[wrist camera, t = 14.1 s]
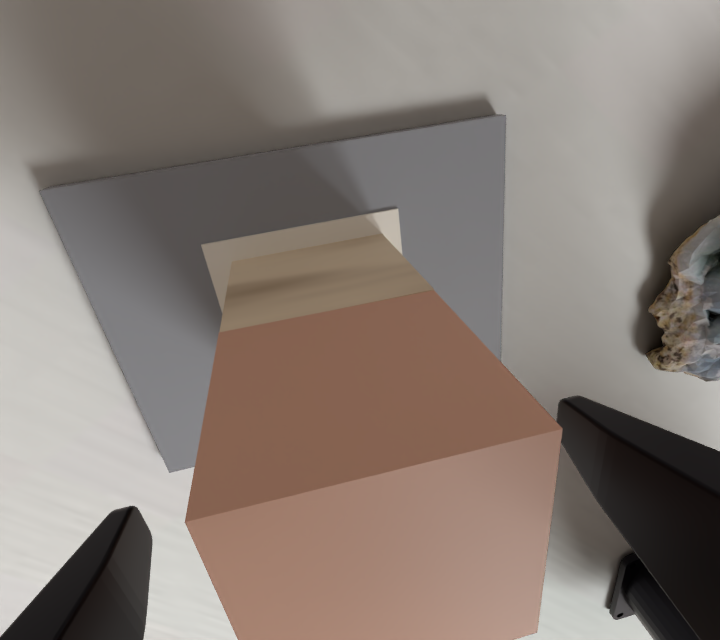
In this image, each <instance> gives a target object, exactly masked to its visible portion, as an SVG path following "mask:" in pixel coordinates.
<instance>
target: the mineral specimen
mask: <svg viewBox="0 0 720 640" xmlns="http://www.w3.org/2000/svg"><path fill="white" fill-rule="evenodd" d="M667 263H668V264H669V265H671V276H672V278H671V279H670V281H669V282H668V284H667V286H666V288H665V289H664V290H663V291H662V292H661V293H660V294H659V295H658V296H657V297H656V299H655V301H654V303H653V304H652V305H651V306H650V307H649V309H648V312H649V313H652V314H653V316H654V317H655V318H656V322H657V325H658V327H660V328H662V329H663V331H664V335H663V336H662V342H663V346H662V347H660V348H657V349H652V350H651V351H650V352H648V353H646V356H647V358H648V360H649V361H650V362H651V364H652V365H653V367H654V368H655V369H658V370H662V371H670V372H681V371H683V372H684V373H685V374H689V375H692V376H696V377H698V378H700V379H702V380H704V381H718V380H720V215H719V216H717V217H716V218H714V219H712V220H709V222H708V223H706V224H704V225H702V226H700V227H699V228H698V229H697V230H696V232H695V233H694V234H693V235H691V236H690V237H688V238H687V239H686V240H685V241H684V242H683V243H682V244H681V245H680V246H679V247H678V248H677V249H676V250H675V251H674V253H673V254H672V256H671V257H670V259H669V261H668V262H667Z"/></svg>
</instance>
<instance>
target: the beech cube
mask: <svg viewBox="0 0 720 640" xmlns="http://www.w3.org/2000/svg"><path fill="white" fill-rule="evenodd" d="M433 290H434V289H433V287H432V286H431V285H430V284H429V283H428V282H427V281H426V280H425V279H424V278H423V277H422V276H421V275H420V274H419V272H418V271H417V270H416V269H415V268H414V267H413V266H412V265H411V264H410V263H409V262H408V261H407V260H406V259H405V257H404V256H403V255H402V254H401V253H400V252H399V251H398V250H397V249H396V248H395V247H394V246H393V245H392V244H391V242H390V241H389V240H388V239H387V238H386V237H385V236H384V235H383V234H377V235H371V236H366V237H361V238H355V239H350V240H345V241H339V242H334V243H329V244H323V245H318V246H312V247H307V248H302V249H296V250H291V251H286V252H280V253H275V254H270V255H264V256H259V257H254V258H248V259H243V260H238V261H232V263H231V269H230V275H229V280H228V286H227V292H226V297H225V303H224V309H223V314H222V320H221V325H220V331H219V332H224V331H229V330H234V329H239V328H244V327H249V326H254V325H260V324H265V323H270V322H275V321H280V320H285V319H290V318H295V317H300V316H305V315H310V314H316V313H321V312H326V311H331V310H336V309H341V308H346V307H351V306H356V305H361V304H367V303H372V302H377V301H382V300H387V299H392V298H397V297H402V296H407V295H412V294H417V293H423V292H428V291H433Z"/></svg>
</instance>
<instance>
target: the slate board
mask: <svg viewBox="0 0 720 640" xmlns="http://www.w3.org/2000/svg"><path fill="white" fill-rule="evenodd" d="M505 139H506V115H498V114H497V115H491V116H485V117H478V118H472V119H466V120H460V121H454V122H448V123H441V124H435V125H429V126H423V127H417V128H411V129H404V130H398V131H392V132H386V133H380V134H374V135H367V136H361V137H355V138H349V139H343V140H337V141H331V142H324V143H318V144H312V145H306V146H300V147H294V148H287V149H281V150H275V151H269V152H263V153H257V154H250V155H244V156H238V157H232V158H226V159H220V160H214V161H207V162H201V163H195V164H189V165H183V166H177V167H170V168H164V169H158V170H152V171H146V172H140V173H133V174H127V175H121V176H115V177H109V178H103V179H96V180H90V181H84V182H78V183H72V184H66V185H60V186H53V187H48V188H45V189H43V190H40V191H39V192H40V194H41V197H42V199H43V201H44V203H45V205H46V207H47V210H48V212H49V214H50V216H51V218H52V220H53V223H54V225H55V227H56V229H57V231H58V233H59V236H60V238H61V240H62V242H63V244H64V246H65V248H66V251H67V253H68V255H69V257H70V259H71V261H72V264H73V266H74V268H75V270H76V272H77V274H78V277H79V279H80V281H81V283H82V285H83V287H84V289H85V292H86V294H87V296H88V298H89V300H90V302H91V305H92V307H93V309H94V311H95V313H96V315H97V318H98V320H99V322H100V324H101V326H102V328H103V331H104V333H105V335H106V337H107V339H108V341H109V343H110V346H111V348H112V350H113V352H114V354H115V356H116V359H117V361H118V363H119V365H120V367H121V369H122V372H123V374H124V376H125V378H126V380H127V382H128V384H129V387H130V389H131V391H132V393H133V395H134V397H135V400H136V402H137V404H138V406H139V408H140V410H141V413H142V415H143V417H144V419H145V421H146V423H147V426H148V428H149V430H150V432H151V434H152V436H153V438H154V441H155V443H156V445H157V447H158V449H159V451H160V454H161V456H162V458H163V460H164V462H165V464H166V467H167V469H168V471H169V473H171V472H175V471H179V470H183V469H187V468H191V467H195V463H196V457H197V452H198V446H199V441H200V435H201V429H202V424H203V418H204V413H205V407H206V401H207V396H208V390H209V385H210V379H211V373H212V368H213V362H214V357H215V351H216V345H217V340H218V334H219V331H220V325H221V320H222V314H223V309H224V303H225V297H226V292H227V286H228V280H229V275H230V269H231V263H232V261H238V260H243V259H248V258H254V257H259V256H264V255H270V254H275V253H280V252H286V251H291V250H296V249H302V248H307V247H312V246H318V245H323V244H329V243H334V242H339V241H345V240H350V239H355V238H361V237H366V236H371V235H377V234H383V235H384V236H385V237H386V238H387V239H388V240H389V241H390V242H391V244H392V245H393V246H394V247H395V248H396V249H397V250H398V251H399V252H400V253H401V254H402V255H403V256H404V257H405V259H406V260H407V261H408V262H409V263H410V264H411V265H412V266H413V267H414V268H415V269H416V270H417V271H418V272H419V274H420V275H421V276H422V277H423V278H424V279H425V280H426V281H427V282H428V283H429V284H430V285H431V286H432V287H433V289H434V291H435V292H436V293H437V294H438V295H439V296H440V297H441V298H442V299H443V300H444V301H445V303H446V304H447V305H448V306H449V307H450V308H451V309H452V310H453V311H454V312H455V313H456V314H457V315H458V317H459V318H460V319H461V320H462V321H463V322H464V323H465V324H466V325H467V326H468V327H469V328H470V329H471V331H472V332H473V333H474V334H475V335H476V336H477V337H478V338H479V339H480V340H481V341H482V342H483V343H484V345H485V346H486V347H487V348H488V349H489V350H490V351H491V352H492V353H493V354H494V355H495V356H496V357H497V359H498V360H499V361H500V362H501V324H502V278H503V231H504V185H505Z"/></svg>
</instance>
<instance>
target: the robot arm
mask: <svg viewBox="0 0 720 640" xmlns="http://www.w3.org/2000/svg"><path fill="white" fill-rule="evenodd" d="M557 423H558V424H559V425H560V426H561V427H562V429H563V431H562V439H561V443H562V445H563V446H564V448H565V449H566V451H567V453H568V454H569V456H570V458H571V459H572V461H573V463H574V464H575V466H576V468H577V469H578V471H579V473H580V474H581V476H582V478H583V479H584V481H585V483H586V484H587V486H588V488H589V489H590V491H591V492H592V494H593V496H594V497H595V499H596V500H597V502H598V503H599V504H600V506H601V507H602V509H603V510H604V511H605V513H606V514H607V515H608V517H609V518H610V519H611V521H612V522H613V523H614V525H615V526H616V527H617V529H618V530H619V532H620V533H621V534H622V536H623V537H624V538H625V540H626V541H627V542H628V544H629V545H630V546H631V548H632V549H633V550H634V552H635V553H634V554H631V555H628V556H626V557H625V558H623V559H622V561H621V564H620V568H619V573H618V577H617V581H616V586H615V590H614V594H613V598H612V603H611V607H610V614H611V615H612V617H613V618H614V619H615V620H618V619H621V618H625V617H628V616H631V615H634V614H635V615H636V616H637V617H638V619H639V620H640V622H641V623H642V624H643V626H644V627H645V628H646V630H647V631H648V632H649V634H650V635H651V637H652V638H653V639H654V640H720V451H717V450H715V449H712V448H710V447H707V446H705V445H702V444H700V443H697V442H695V441H692V440H690V439H687V438H685V437H682V436H680V435H677V434H675V433H672V432H670V431H667V430H665V429H662V428H660V427H657V426H655V425H652V424H650V423H647V422H645V421H642V420H640V419H637V418H635V417H632V416H629V415H627V414H624V413H622V412H619V411H617V410H614V409H612V408H609V407H607V406H604V405H602V404H599V403H597V402H594V401H592V400H589V399H587V398H584V397H582V396H572V397H568V398H564V399H562V400H560V402H559V404H558V413H557ZM151 555H152V535H151V532H150V530H149V528H148V526H147V524H146V522H145V521H144V519H143V517H142V515H141V513H140V511H139V510H138V508H137V507H135V506H129V507H124V508H120V509H116V510H114V511H112V512H111V513H110V514H109V515H108V516H107V517H106V518H105V519H104V520H103V521H102V522H101V524H100V525H99V526H98V527H97V528H96V529H95V530H94V532H93V533H92V534H91V535H90V536H89V537H88V538H87V539H86V541H85V542H84V543H83V544H82V545H81V546H80V547H79V548H78V550H77V551H76V552H75V553H74V554H73V555H72V556H71V558H70V559H69V560H68V561H67V562H66V563H65V564H64V565H63V567H62V568H61V569H60V570H59V571H58V572H57V573H56V575H55V576H54V577H53V578H52V579H51V580H50V581H49V582H48V584H47V585H46V586H45V587H44V588H43V589H42V590H41V591H40V593H39V594H38V595H37V596H36V597H35V598H34V599H33V601H32V602H31V603H30V604H29V605H28V606H27V607H26V608H25V610H24V611H23V612H22V613H21V614H20V615H19V616H18V617H17V619H16V620H15V621H14V622H13V623H12V624H11V625H10V627H9V628H8V629H7V630H6V631H5V632H4V633H3V634H2V636H1V637H0V640H143V638H144V632H145V625H146V616H147V604H148V592H149V580H150V567H151Z"/></svg>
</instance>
